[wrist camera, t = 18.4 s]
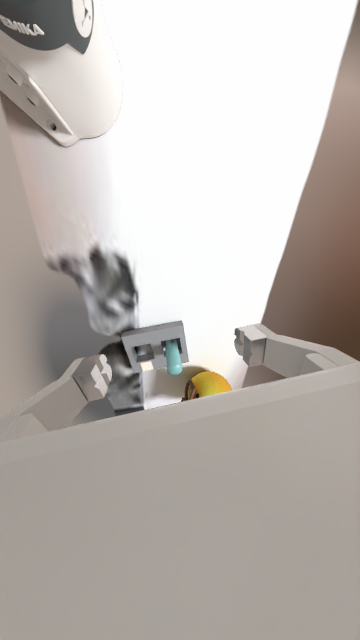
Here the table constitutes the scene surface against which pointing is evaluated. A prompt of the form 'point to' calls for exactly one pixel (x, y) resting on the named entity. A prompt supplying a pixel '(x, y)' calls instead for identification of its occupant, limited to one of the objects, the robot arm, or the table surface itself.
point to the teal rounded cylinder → (173, 357)
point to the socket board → (153, 345)
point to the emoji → (205, 385)
